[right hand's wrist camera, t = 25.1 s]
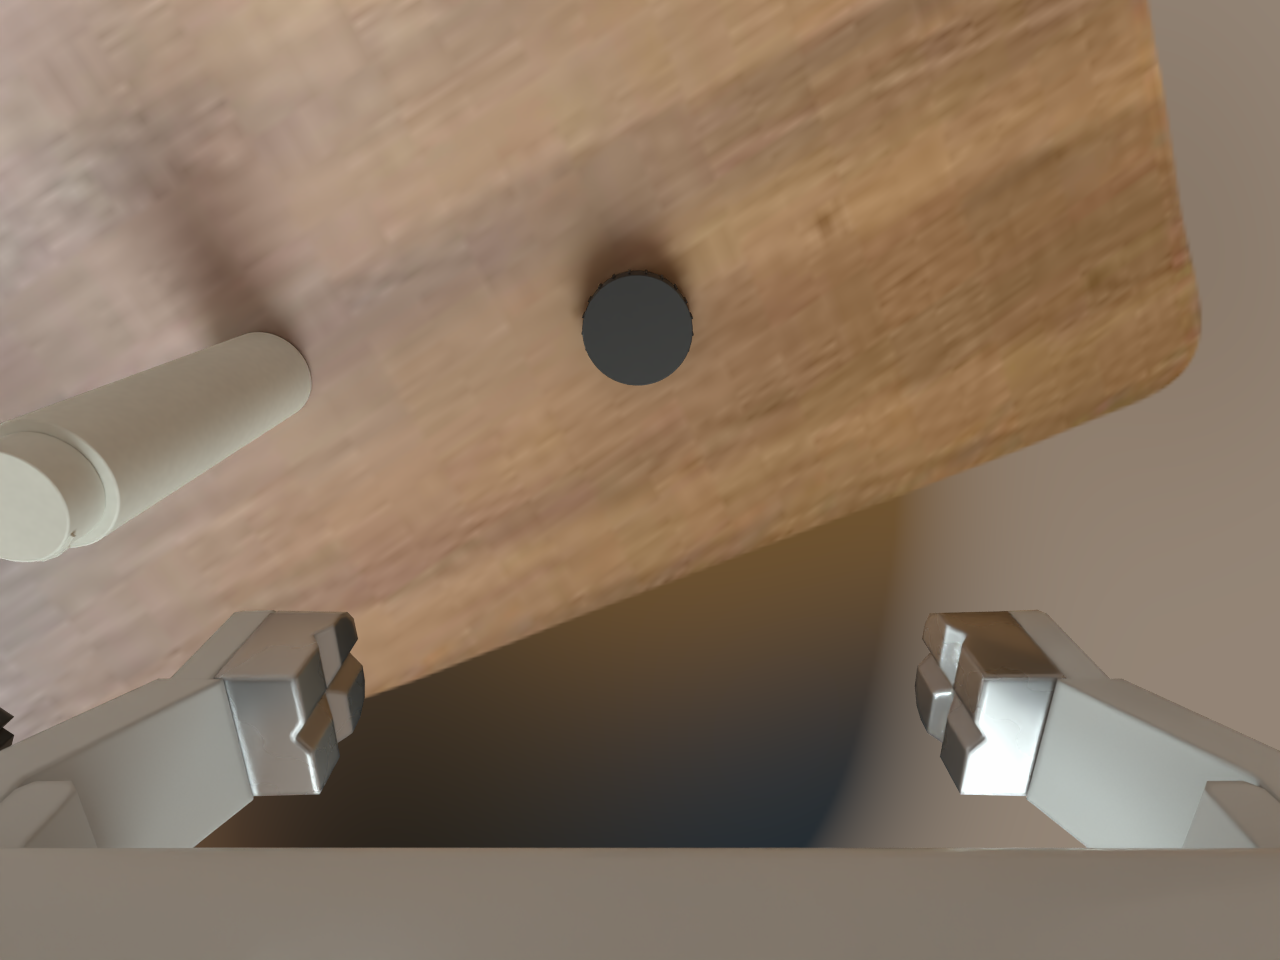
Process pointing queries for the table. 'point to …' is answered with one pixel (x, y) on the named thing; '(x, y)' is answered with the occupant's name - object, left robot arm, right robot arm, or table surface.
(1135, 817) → the right robot arm
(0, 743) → the left robot arm
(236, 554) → the table surface
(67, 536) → the jar
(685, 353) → the lid
